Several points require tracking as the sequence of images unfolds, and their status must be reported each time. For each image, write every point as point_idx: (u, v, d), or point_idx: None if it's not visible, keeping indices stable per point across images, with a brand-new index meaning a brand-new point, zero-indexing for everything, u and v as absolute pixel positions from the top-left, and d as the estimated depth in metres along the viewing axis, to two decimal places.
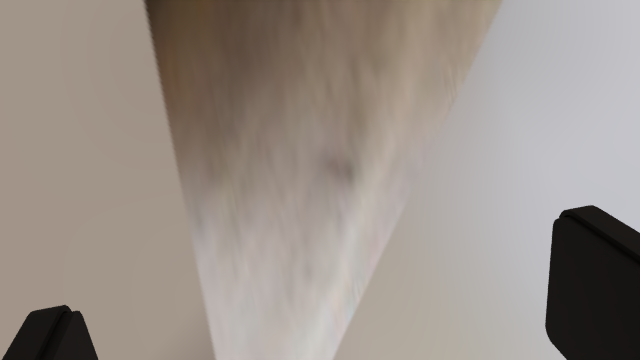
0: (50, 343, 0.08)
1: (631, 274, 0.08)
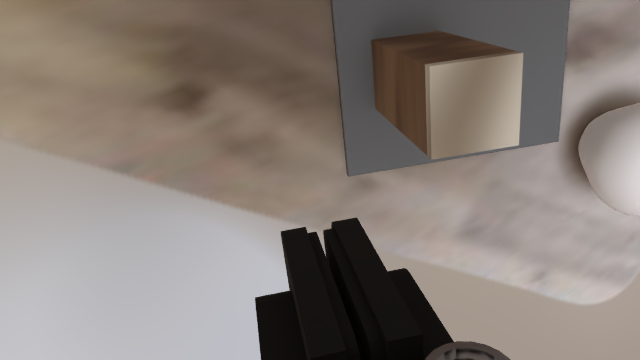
0: (315, 251, 0.09)
1: (345, 284, 0.09)
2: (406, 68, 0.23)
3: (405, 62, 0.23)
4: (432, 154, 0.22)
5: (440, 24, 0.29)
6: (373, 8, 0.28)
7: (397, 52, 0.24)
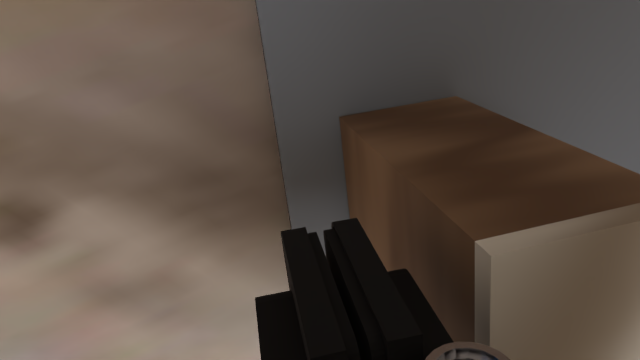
0: (315, 251, 0.09)
1: (345, 284, 0.09)
2: (418, 212, 0.11)
3: (413, 198, 0.11)
4: None
5: (458, 85, 0.16)
6: (339, 61, 0.15)
7: (394, 168, 0.12)
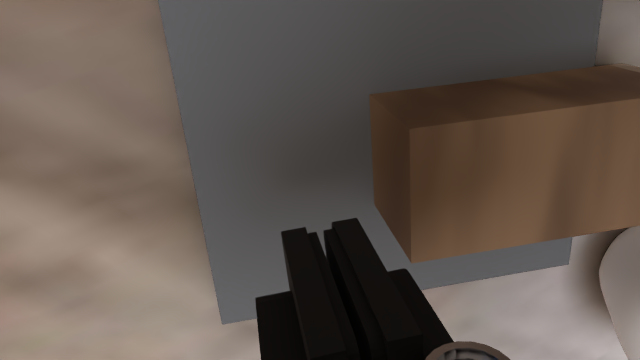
0: (315, 251, 0.09)
1: (345, 284, 0.09)
2: (627, 118, 0.14)
3: (621, 112, 0.14)
4: None
5: (370, 84, 0.16)
6: (245, 54, 0.15)
7: (583, 106, 0.13)
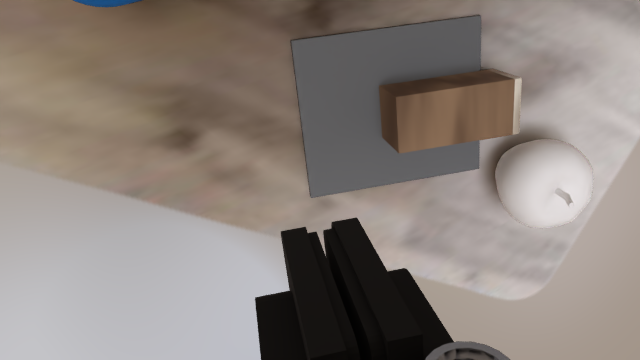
0: (315, 251, 0.09)
1: (345, 284, 0.09)
2: (482, 91, 0.34)
3: (479, 88, 0.34)
4: (518, 130, 0.36)
5: (379, 81, 0.37)
6: (326, 70, 0.36)
7: (464, 87, 0.34)
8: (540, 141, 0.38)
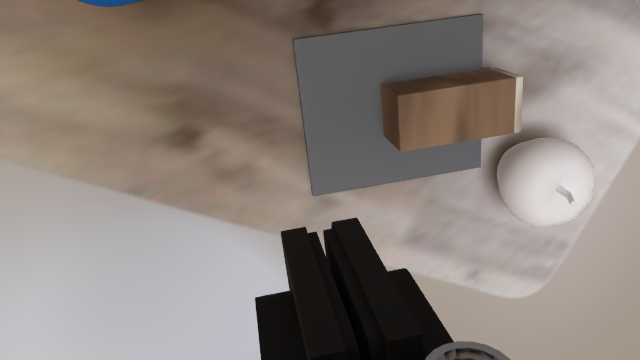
0: (315, 251, 0.09)
1: (345, 284, 0.09)
2: (484, 90, 0.35)
3: (481, 87, 0.34)
4: (520, 128, 0.36)
5: (381, 80, 0.37)
6: (328, 68, 0.36)
7: (465, 85, 0.34)
8: (541, 139, 0.38)
